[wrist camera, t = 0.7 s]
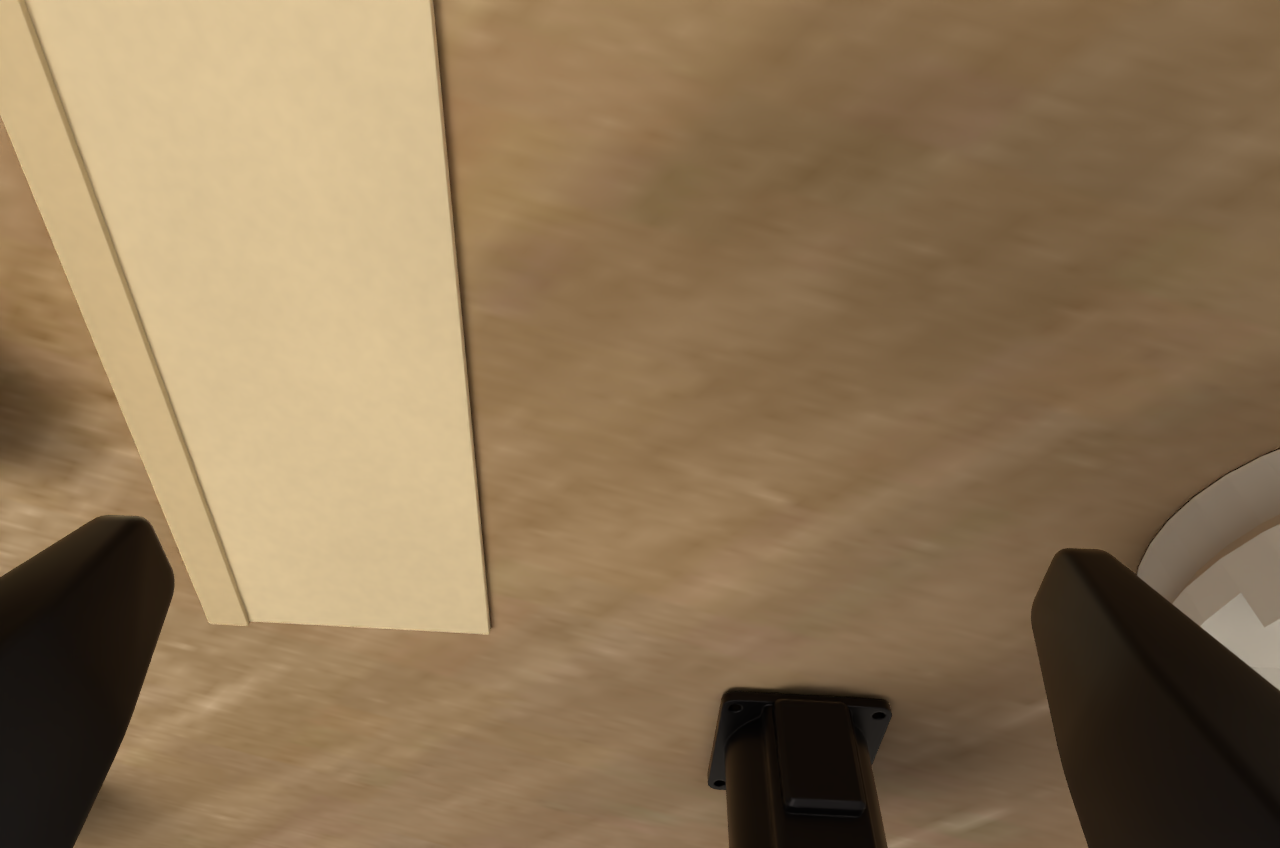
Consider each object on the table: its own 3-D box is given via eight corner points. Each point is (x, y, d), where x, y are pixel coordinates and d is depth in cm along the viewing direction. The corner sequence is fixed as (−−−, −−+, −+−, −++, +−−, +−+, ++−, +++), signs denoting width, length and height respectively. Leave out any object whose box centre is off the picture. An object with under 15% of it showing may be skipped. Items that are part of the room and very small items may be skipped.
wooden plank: (490, 628, 31) (488, 639, 31) (214, 612, 31) (208, 624, 31) (428, -57, 17) (422, -53, 17) (-66, -88, 17) (-82, -84, 17)
